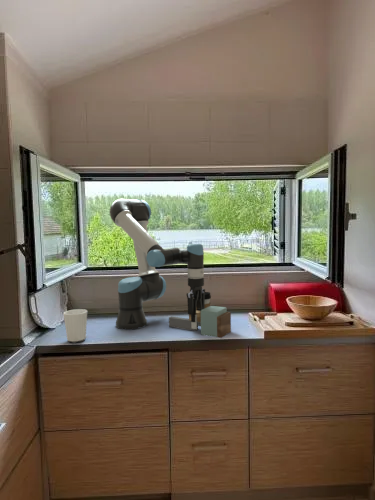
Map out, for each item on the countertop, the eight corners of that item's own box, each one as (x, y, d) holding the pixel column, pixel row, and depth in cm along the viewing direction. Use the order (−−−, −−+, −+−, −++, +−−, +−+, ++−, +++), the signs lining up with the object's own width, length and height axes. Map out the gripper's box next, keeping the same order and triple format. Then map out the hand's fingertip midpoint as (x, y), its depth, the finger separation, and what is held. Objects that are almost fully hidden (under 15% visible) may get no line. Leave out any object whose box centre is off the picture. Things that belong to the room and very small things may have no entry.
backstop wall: (217, 337, 149) (216, 316, 148) (226, 331, 157) (226, 311, 157) (221, 337, 148) (221, 317, 147) (230, 331, 156) (230, 312, 156)
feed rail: (169, 326, 167) (168, 317, 167) (171, 325, 169) (171, 316, 169) (195, 330, 159) (195, 321, 159) (198, 329, 161) (198, 320, 161)
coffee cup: (210, 324, 168) (209, 294, 167) (193, 324, 170) (192, 294, 169) (212, 320, 176) (211, 291, 175) (196, 319, 178) (195, 291, 177)
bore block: (201, 334, 153) (200, 310, 152) (211, 328, 162) (211, 305, 161) (217, 337, 149) (216, 312, 148) (226, 331, 158) (226, 307, 157)
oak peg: (189, 320, 160) (188, 311, 159) (193, 318, 163) (193, 309, 163) (215, 324, 152) (215, 315, 152) (219, 321, 156) (219, 313, 155)
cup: (91, 341, 147) (89, 312, 146) (67, 346, 142) (65, 315, 141) (85, 335, 156) (84, 307, 155) (62, 339, 151) (61, 311, 150)
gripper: (193, 280, 149) (194, 333, 151) (211, 275, 164) (212, 323, 165) (179, 279, 153) (180, 331, 155) (197, 274, 168) (198, 321, 169)
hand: (196, 327), depth 160 cm, fingers closed on oak peg, 4 cm apart
